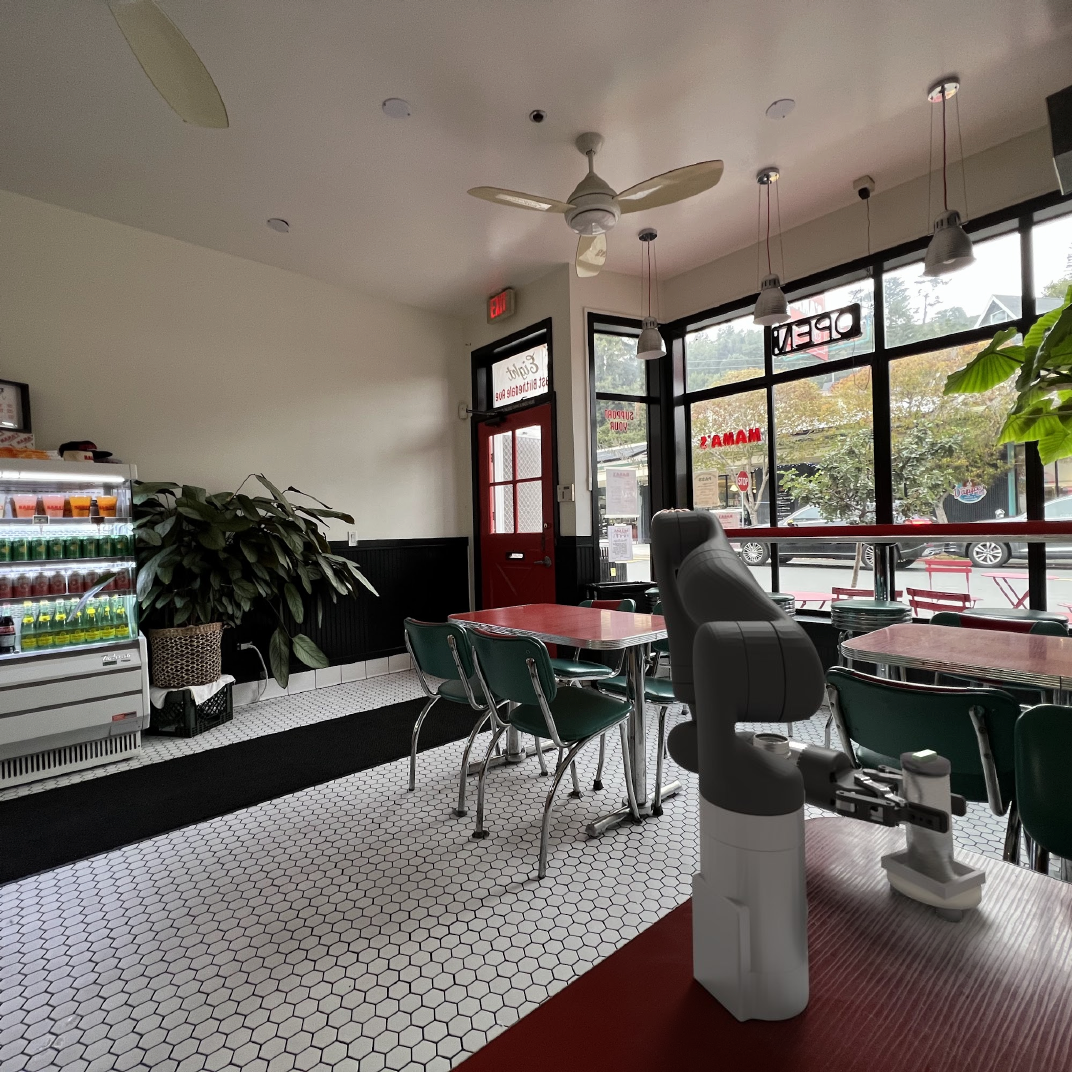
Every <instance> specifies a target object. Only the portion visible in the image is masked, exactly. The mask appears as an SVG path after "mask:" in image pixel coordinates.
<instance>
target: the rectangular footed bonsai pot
mask: <svg viewBox="0 0 1072 1072" xmlns="http://www.w3.org/2000/svg"><path fill="white" fill-rule="evenodd" d="M954 866H955V879H954V880H952V881H949V882H947V883H944V884H942V883H940V882H938V881H936V880H934V879H932V878H929V877H927V876H925V875H923V874H921V873H919V872H917V871H915V870H913V869H911V868H909V867H908V862H907V847H906V848H903V849H901V850H897V851H894V852H890V853H888V854H885V855H882V856H880V867H881V868H882V869H884V870H885V871H886V872H885V873H886V878H887V881H888V883H889V889H890V890H891V891H892V892H893V894H896V895H898V896H901V897H908V898H911V899H913V900H915V901H918V902H920V903H924V904H926V905H928V906H929V905H930V906H933V907H935V908H934V910H935V914H936V916H938V917H940V919H943V920H945V921H947V922H952V923H959V922H962V921H963V910H969V909H973V908H976V907H978V906H979V905H980V904H981V903H982V900H983V899H982V897H983V893H982V885H984V884H986V883H987V881H986V879H987V878H986V871H984V870H982V869H980V868H978V867H976V866H972V865H970V864H968V863H967V862H964V861H961V860H959V859H957V858H955V857H954Z"/></svg>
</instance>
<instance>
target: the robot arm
mask: <svg viewBox="0 0 1072 1072" xmlns="http://www.w3.org/2000/svg"><path fill="white" fill-rule="evenodd" d="M652 518H653V519H652V521H651V525H650V526H651V528H650V542H651V543H650V546H651V554H652V559H653V566H654V573H655V577H656V585H657V589H658V591H657V592H658V594H659V601H660V606H661V611H662V615H663V621H664V624H665V628H666V635H667V640H668V641H667V642H668V650H669V661H670V675H671V688H672V693H673V696H674V699H675V700H676V701H677V702H679V703H681V704H685V705H687V707H688V710H689V713H690V717H691V720H686V721H683V722H679V723H678V724H676V725H675V726H674V727H672V728H671V730H670V731H669V733H668V735H667V739H666V748H667V752H668V754H669V756H670V757H671V760H672V761H673V762H675V764H677V765H678V767H681V768H682V769H683V770H685V771H688V772H690V773H693V774H697V775H698V806H699V807H698V808H699V809H698V811H699V815H698V817H699V862H700V863H699V865H700V867H699V869H700V872H698V873H695V874H693V875H692V877H691V899H692V900H691V901H692V902H691V906H692V908H691V909H692V911H691V912H692V948H693V949H692V952H693V953H692V954H693V959H692V960H693V978H694V979H695V980H696V981H698V983H699V984H700V985H702V986H703V988H705V990H707V991H708V993H710V995H712V996H713V997H714V998H715V999H716V1000H717V1001H718V1002H719V1003H720V1004H721V1005H722V1006H723V1007H724V1008H725V1009H726V1010H728V1012H729V1013H730V1014H731V1015H732V1016H733V1017H735V1018H736V1019H737V1020H738V1021H739V1022H745V1021H747V1020H750V1019H757V1020H763V1021H783V1020H788V1019H791V1018H793V1017H796V1016H797V1015H799V1014H800V1013H802V1012H803V1011H804V1010H805V1008H806V1007H807V1005H808V1003H809V997H810V988H809V987H810V983H809V982H810V981H809V980H810V979H809V977H810V975H809V951H808V950H809V947H808V945H809V944H808V939H809V938H808V918H807V904H808V900H807V901H806V897H807V871H806V869H807V865H806V863H807V862H806V827H805V826H806V824H805V820H806V818H805V804H806V805H809V806H812V807H814V808H815V807H816V808H819V809H820V810H821V809H822V810H825V811H828V812H831V813H835V814H837V815H838V816H842V817H846V818H850V819H854V820H859V821H862V822H865V823H866V822H867V823H871V824H875V825H879V826H882V827H883V826H884V827H887V828H896V823H897V824H899V825H906V824H908V822H909V823H910V824H913V825H917V826H920V827H923V828H927V829H930V830H933V831H936V832H940V833H943V834H945V833H947V832H948V831H949V815H948V813H947V812H945V811H943V810H939V809H935V808H932V807H928V806H925V805H921V804H918V803H914V802H909V803H908V805H907V801H906V800H904V790H903V772H902V770H899V769H897V768H893V767H891V766H887V765H885V764H879V765H878V766H877V769H878V770H876V769H872V768H871V769H870V768H863V769H857V768H856V767H855V766H854V764H853V763H852V760H851V758H850V756H849V755H848V754H847V753H846V752H844V751H843V750H842V751H841V750H837V749H832V748H829V747H824V746H820V745H816V744H812V743H808V742H804V741H801V740H800V741H799V740H796V739H790V738H789V742H790V752H791V758H790V759H789V760H787V759H786V758H784V757H782V756H780V755H777V754H775V753H772V752H770V751H767V750H764V749H761V748H759V747H756V746H754V744H753V737H754V735H755V734H757V733H758V732H754V731H746V730H745V731H744V730H743V731H736V723H739V724H740V723H742V724H743V723H745V724H746V723H749V724H750V723H751V724H752V723H754V724H755V723H756V724H791V723H797V722H802V721H806V720H808V719H810V718H812V717H813V716H814V715H816V713H817V712H818V711H819V710H820V708H821V706H822V705H823V704H822V703H823V701H824V698H825V692H826V684H825V683H826V680H825V672H824V667H823V665H822V664H823V663H822V661H821V659H820V657H819V654H818V651H817V649H816V647H815V645H814V643H813V640H812V639H811V638H810V636H809V635H808V633H807V632H806V630H805V629H804V628H803V627H802V626H801V624H800V623H798V622H797V621H796V619H794V618H793V617H792V616H791V615H789V614H788V613H787V612H786V611H785V609H783V608H782V607H780V605H778V604H777V603H776V602H775V601H774V600H773V599H772V598H771V597H770V596H769V595H768V593H767V592H766V591H765V590H764V589H763V588H762V586H761V585H760V584H759V582H758V580H756V577H755V575H754V574H753V573H752V571H751V570H750V568H749V567H748V566H747V565H746V563H745V562H744V561H743V559H741V557H740V556H739V555H738V554H737V552H736V551H735V549H734V548H733V546H732V544H731V543H730V541H729V539H728V537H727V534H726V532H725V529H724V528H723V525H722V523H721V521H720V519H719V518H718V517H717V515H716V514H715V513H713V512H712V511H709V510H705V509H703V510H702V509H701V510H698V509H695V510H686V511H683V510H682V511H669V512H660V513H657V514H656V515H655V516H654V517H652ZM676 570H678V571H677V575H676ZM804 790H805V803H804ZM895 792H896V793H897V795H895V794H896V793H895ZM950 796H951V813H952V815H953V816H957V817H960V818H962V817H963V818H964V817H965V816H966V815H967V813H968V812H967V810H968V809H967V799H966V797H964V796H963V795H960V794H956V793H952V792H950Z"/></svg>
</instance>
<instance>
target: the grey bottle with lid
mask: <svg viewBox="0 0 1072 1072" xmlns="http://www.w3.org/2000/svg"><path fill="white" fill-rule="evenodd" d="M899 759H900V767H901V769H902V770H901V771H902V772H903V790H904V800H906V801H907V805H908V803H909V802H914V803H918V804H921V805H925V806H928V807H932V808H935V809H939V810H943V811H945V812H947V813H948V815H949V831H948V832H947V833H945V834H943V833H940V832H936V831H933V830H930V829H927V828H923V827H920V826H917V825H913V824H910V823H909V822H908V824H906V825H905V840H906V848H907V862H908V867H909V868H911V869H913V870H915V871H917V872H919V873H921V874H923V875H925V876H927V877H929V878H932V879H934V880H936V881H938V882H940V883H942V884H944V883H947V882H949V881H952V880H954V879H955V866H954V858H955V853H954V851H955V849H954V837H953V835H954V834H953V832H954V831H953V817H952V813H951V796H950V793H951V780H950V779H951V778H950V775H951V773H952V771H951V768H952V767H951V761H950V760H949V759H947V758H946V757H943V756H941V755H937V752H936V751H933V750H930V749H925V750H922V751H908V752H904V753H901V754H900V755H899Z"/></svg>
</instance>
